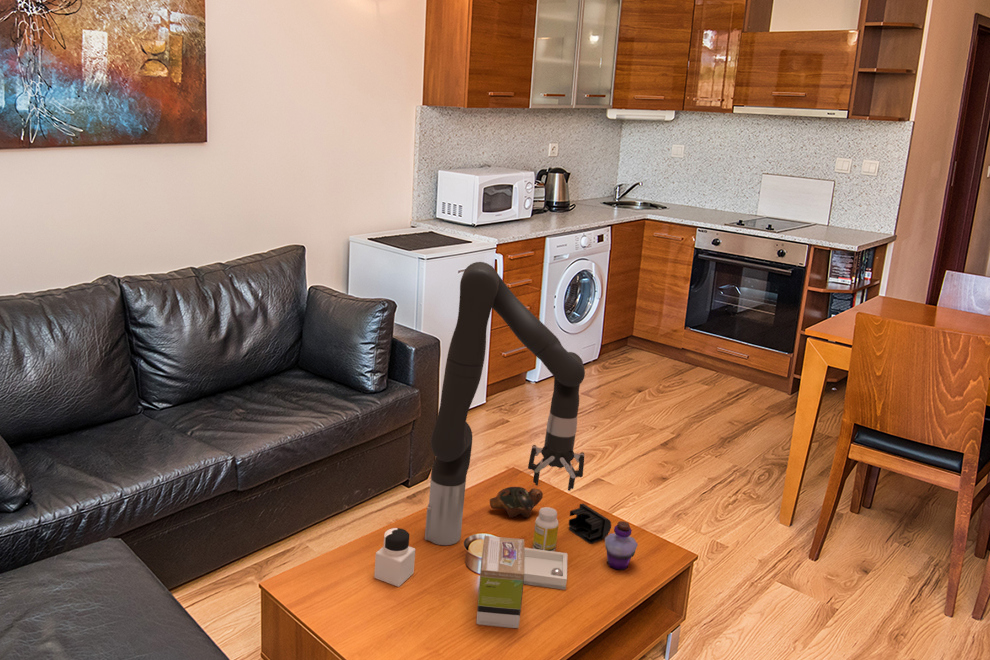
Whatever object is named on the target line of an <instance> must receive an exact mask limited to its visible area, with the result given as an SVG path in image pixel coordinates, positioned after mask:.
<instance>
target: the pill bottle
mask: <svg viewBox="0 0 990 660" xmlns="http://www.w3.org/2000/svg"><path fill="white" fill-rule="evenodd" d="M557 517H558V512H557V510H556V509H554V508H552V507H549V506H547V507H546V506H545V507H541V508H540V509H539V511H538V516H537V517H536V519H535V522H534V531H533V541H532V549H539V550H547V551H554V552H556V547H557V539H558V532H559V531H558V530H559V520H558V518H557Z"/></svg>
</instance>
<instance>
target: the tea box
mask: <svg viewBox="0 0 990 660" xmlns="http://www.w3.org/2000/svg"><path fill="white" fill-rule="evenodd" d="M483 539H484V540H483V547H482V555H481V564H480V571H479V572H480V573H479V574H480V575H479V584H478V596H477V607H476V609H477V611H476V622H475V623H476V624H477V625H478V626H479V625H480V626H488V627H489V626H490V627H496V628H497V627H499V628H508V629H509V628H510V629H519V628H520V627H519V626H520V620H521V619H520V618H521V611H522V603H523V602H522V601H523V592H524V585H525V584H524V548H525V539H524V538H514V537H513V538H512V537H501V536H491V535H490V536H489V535H484V538H483Z"/></svg>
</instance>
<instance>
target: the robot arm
mask: <svg viewBox="0 0 990 660" xmlns="http://www.w3.org/2000/svg"><path fill="white" fill-rule="evenodd" d="M459 283H460V284H459V303H458V305H459V306H458V312H457V313H458V314H457V320H456V321H457V322H456V324H455V328H454V331H453V333H452V337H451V341H450V343H449V348H448V351H447V352H448V353H447V357H446V362H445V369H444V374H443V381H442V389H441V396H440V403H439V410H438V413H437V416H436V420H435V424H434V427H433V430H432V433H431V437H430V447H431V451H432V453H433V455H434V456H435V459H434V462H433V464H432V467H431V470H430V471H431V472H430V484H429V496H428V498H429V499H428V504H427V508H426V517H425V531H424V541H429V542H431V543H433V544H435V545H439V546H451V545H454V544H456V543H458V542H460V540H461V537H462V536H461V535H462V528H463V527H462V525H463V517H464V516H463V515H464V506H465V505H464V504H465V495H466V493H465V492H466V483H467V474H468V471H469V467H470V462H471V455H472V449H473V448H472V446H473V432H472V428H471V426H470V424H469V423H468V422H467V418H468V414H469V410H470V408H471V405H472V403H473V400H474V397H475V396H476V393H477V390H478V389H479V384H480V382H481V379H482V375H483V368H484V364H485V358H486V348H487V328H488V322H489V318H490V315H491V311H492V309H493V310H494V311H495V313H497V314H498V315H499V316H500V318H501V319H502V320H503V321H504V322H505V324H506V325H507V326H508V327H509V329H510V330H511V332H512V333H513V334H514V335H515V336H516V338H517V339H518V340H519V341H520V342H521V343H522V345H524V346H525V347H526V348H527V349H528V350H529V351H530V353H532V354H533V355H534V356H535V357H536V358H537V359H539V361H541V362H542V363H543V365H544V366H545V368H546V369H547V370H548V371H549V372H550V374H551V375H552V376H553V377H554V379H553V393H552V396H551V397H552V398H551V403H550V408H549V409H550V410H549V413H548V414H549V415H548V417H547V421H546V422H547V423H546V428H545V429H546V431H545V437H544V444H543V447H538V446H537V445H536V444H533V445H531V446H532V447H531V449H530V455H529V460H528V465H527V468H528V469H529V470H531V471H533V480H532V482H533V484H535V486H539V481H540V480H539V479H540V474H541V473H540V472H541V471H542V470H543V469H545V468H546V467H547V466H549V467H552V468H553V467H554V468H559V469H563V468H564V469H565V470H566V472H567V473H568V475H569V478H568V484H567V485H568V486H567V491H569V492H571V490H573V489H574V487H575V480H576V478H582V477H583V475H584V467H585V452H583V451H582V452H580V453H578V452H577V453H575V452H574V446H575V440H576V434H577V429H578V414H579V413H578V412H579V409H580V408H579V406H580V386H581V384H582V383H583V381H584V379H585V375H586V370H585V366H584V362H583V360H582V358H581V356H579V354H577V353H575V352H572V351H568V350H567V349H565V348H564V346H563V345H562V343H561V340H559V338H558V337H557V336H556V335H555V334H554V333H553V332H552V331H551V330H550V329H549V328H548V327H547V326H546V325H545V324H544V323H543V322H542V321H541V320H540V319H539V318H537V317H536V315H534V314H533V313H532V312H531V311H530V309H528V308H527V307H526V306H525V305H524V304H523V303H522V302H521V301H520V300H519V298H517V296H516V295H515V294H514V293H513V292H512V290H511V289H510V288H509V287H508V285H507V284H506V282H504V280H503V278H501V276H500V275H499V273H498V272H497V270H496V269H495V268H494V267H493V266H492V265H491V264H489V263H487V262H484V261H475V262H472V263H470V264H469V265H468V266H467V267H465V269H464V271H463V273H462V277H461V279H460V282H459ZM539 454H541V455H542V458H541V460H540V461H539V462H538V463H535V462H534V461H535V458H536V457H538V456H539ZM574 459H575V460H576V462H577V463H578V469H577V470H575V468H574V466H573V463H572V461H573V460H574Z"/></svg>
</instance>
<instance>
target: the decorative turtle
mask: <svg viewBox="0 0 990 660" xmlns="http://www.w3.org/2000/svg"><path fill="white" fill-rule="evenodd" d="M543 496H544V494H543V491H542V490H541V489H540V488H530V490H527V489H526V488H524V487H523V486H522V487H521V486H509V487H504V488H503V489H501V490H500V491H499V492H498V493H497V495H496V496H495V497H490V499H489V505H490V508H491V509H495V510H497V509H500V510H501V509H502V510H503V509H504V510H505V511H506V512H507V515H508V517H509V518H511V519H513V518H514V517H516V516H517V515H519V514H521V516H522V517H523V518H524V519H528V518H530V517H531V515H532V514H531V513H532V511H533V509H534V508H535V507H536V506H537V505H538V504H539V503H540V502H541V501H542V499H543Z"/></svg>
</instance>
